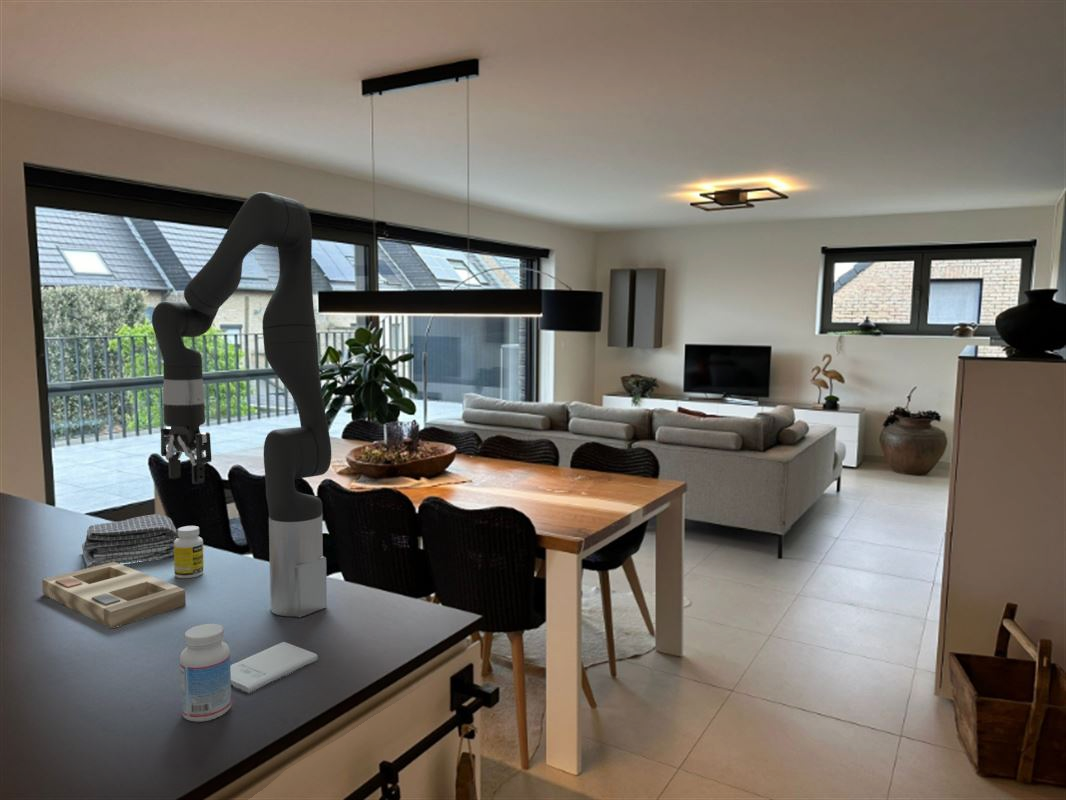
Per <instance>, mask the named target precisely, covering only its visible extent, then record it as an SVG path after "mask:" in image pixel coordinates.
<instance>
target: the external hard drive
mask: <svg viewBox="0 0 1066 800" xmlns="http://www.w3.org/2000/svg"><path fill="white" fill-rule="evenodd" d="M315 658H317V659H318V654H316V653H314V652H313V651H309V650H307V649H305V648H303V647H302V648H301V647H300V646H299V647H298V646H296V645H294V644H291V643H288V642H286V641H282V642H280V643H277V644H275V645H273V646H271V647H269V648H268V647H267V648H266V649H263V650H262V651H259V652H257V653H255V654H253V655H251V656H248V657H247V658H244V659H242V660H239V661H237V662H234V663H232V664H230V671H231V686H232V685H233V687H234V686H236V687H238V688H242V689H244V690H247V691H250V690H252V689H254V688H257V687H259V686H260V685H262V684H264V683H267V682H269V681H271V680H272V679H274V678H276V677H279V676H280V675H282V674H285V673H287V672H289V671H291V670H294V669H295V668H297V667H299V666H301V665H302V664H305V663H307V662H309V661H311V660H314V659H315Z"/></svg>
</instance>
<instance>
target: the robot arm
mask: <svg viewBox="0 0 1066 800" xmlns="http://www.w3.org/2000/svg"><path fill="white" fill-rule="evenodd" d="M312 234H313V231H312V222H311V215H310V213H309V210H308V209H307V207H306V205H305V204H304V203H303V202H301V201H298V200H296V199H294V198H292V197H291V198H290V197H286V196H283V195H279V194H275V193H270V192H266V191H258V192H256V193H253V194H252V195H250V196H249V197H248V198H247V199H246V200H245V201H244V203H243V204H242V206H241V207H240V209H239V210H238V212H237V213H236V215H235V217H234V219H233V220H232V222H231V224H230V225H229V227H228V229H227V230H226V232H225V234H224V236H223V237H222V239H221V241H220V242H219V244H218V246H217V248H216V249H215V251H214V253H213V254H212V256H211V257H210V258H209V260H208V261H207V262H206V263H205V264H204V266H203V267H201V269H200V270H199V271H198V272H197V273H196V274H195V276H194V277H193V278H191V280H190V281H189V282H188V284H187V285H185V287H184V290H183V297H184V299H185V301H177V300H175V301H173V300H164V301H161V302H159V303H157V305H155V307H154V308H153V312H152V315H151V324H152V329H153V331H154V335H155V338H156V341H157V344H158V348H159V351H160V354H161V357H162V361H163V363H162V366H163V369H162V370H163V387H162V403H163V404H162V406H163V411H162V412H163V424H164V426H166V427H161V428H160V456H162V457H165V459H166V461H167V463H168V478H169V479H172V480H173V479H179V478H181V476H182V471H181V470H182V467H181V456H182V454H183V453H184V454H185V456H186V457H187V458H188V459H189V461H190V464H191V483H192V484H194V485H198V484H199V485H200V484H203V483H205V479H206V478H205V465H206V464H207V463H211V462H212V447H211V445H212V443H211V434H210V432H208V431H207V432H206V431H205V432H201V431H200V426H201V425H204V424H206V423H205V422H206V412H205V411H206V410H205V408H206V406H205V404H206V403H205V387H204V381H203V379H204V378H203V377H204V376H203V357H202V354H201V352H200V351H198V350H196V349H191V348H189V347H186V345H185V343H184V341H183V338H196V337H197V338H198V337H200V336H203V335H205V333H207V332H208V331H209V330H210V329H211V327H212V325H213V322H214V321H215V318H216V317H217V314H218V311H219V308H220V307H221V306H223V305H224V304H225V302H227V301H228V300H229V298H230V297H231V296H233V294H234V293H235V291H237V289H238V287H239V285H240V283H241V281H242V272H243V263H244V259H245V258H246V257H247V255H248V254H250V253H251V251H253V250H254V249H255V248H257V247H258V246H259V245H263V246H268V247H271V248H277V252H278V259H279V260H278V261H279V262H278V263H279V264H278V266H279V267H278V268H279V276H278V281H277V283H276V286H275V289H274V290H273V292H272V295H271V297H270V299H269V300H268V303H267V305H266V308H265V311H264V313H263V316H262V325H261V326H262V336H263V337H262V339H263V346H264V347H263V348H264V349H263V350H264V355H265V358H266V360H267V362H268V364H269V366H270V367H271V369H272V371H273V372H274V373H275V375H276V376H277V377H278V379H279V380H280V382H282V384H283V385H284V387H286V389H287V391H288V392H289V393H290V396H291V398H293V401H294V404H295V405H296V409H297V413H298V416H299V421H300V422H299V423H300V426H298V427H285V428H279V429H278V428H277V429H273V430H270V431H269V432H268V433H267V435H266V437H265V439H264V443H263V467H264V478H265V479H264V481H265V497H266V502H267V507H268V508H267V509H268V536H269V537H268V539H269V541H268V543H269V547H268V548H269V549H268V550H269V589H270V590H269V592H270V611H271V613H272V614H275V615H277V616H281V617H282V616H283V617H296V618H302V616H303V617H305V616H307V615H310V614H312V613H316V612H318V611H321V610H324V609H325V608H327V606H328V605H327V604H328V603H327V602H328V601H327V600H328V599H327V591H328V590H327V557H326V556H324V555H323V554H324V553H323V552H324V551H323V549H324V548H323V547H324V546H323V537H324V536H323V501H322V500H321V498H319V497H318V496H315V495H312V494H307V493H303V492H299V491H298V490H297V489H296V485H295V484H296V483H295V480H298V479H306V478H313V477H319V476H322V475H324V474H326V473H327V472H328V470H329V469H330V467H331V461H332V443H331V437H330V431H329V427H328V426H329V424H328V421H327V420H328V419H327V415H326V414H327V413H326V409H325V403H324V397H323V391H322V383H321V373H320V364H319V363H320V362H319V348H318V335H317V334H318V333H317V325H316V324H317V323H316V317H315V307H314V295H313V294H314V293H313V278H312V277H313V275H312V255H313V254H312V253H313V252H312V251H313V250H312V248H313V247H312V245H313V244H312V243H313V237H312V236H313V235H312ZM204 452H205V455H204Z"/></svg>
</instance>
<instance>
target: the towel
mask: <svg viewBox="0 0 1066 800" xmlns="http://www.w3.org/2000/svg"><path fill="white" fill-rule="evenodd" d="M86 530H87V531H86V532H87V533H86V536H85V537H86V539H85V541H84V543H82V544H81V548H82V555H83V557H84V562H85V564H86V569H87V568H91V567H95V566H99V565H103V564H107V563H111V562H116V563H119V564H120V563H129V562H137V561H138V562H139V561H148V562H150V561H149V560H154V561H157V560H156V559H161V560H164V558H165V559H168V558H170V557H173V556H174V542H175V540H176V539H178V528H177V527H175V524H174V522H173V520H172V518H170V517H168V516H167V515H164V514H157V513H155V514H149V515H141V516H136V517H135V516H134V517H132V518H131V517H130V518H128V519H124V520H118V521H113V522H105V523H100V524H92V525H89V527H88V529H86Z"/></svg>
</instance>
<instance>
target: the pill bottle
mask: <svg viewBox="0 0 1066 800" xmlns="http://www.w3.org/2000/svg"><path fill="white" fill-rule="evenodd" d="M224 637H225V634H224V627H223V625H220V624H217V623H205V624H199V625H196V626H193V627H190V628H188V630H186V631H185V633H184V644H185V646H186V647H185V648H184V649H183V650H182V651H181V653H180V656H179V668H180V669H179V675H180V696H181V697H180V698H181V700H180V702H181V714H182V716H183V718H184V719H185V720H188V721H191V722H196V723H198V722H208V721H212V719H213V720H215V719H217V717H218V718H219V717H221V716H222V715H225V714H226V713H227V712H228V711H229V710H230V708H231V707H232V703H233V701H232V685H231V671H230V665H231V650H230V646H229V644H227V643H226V642H225V641H224Z"/></svg>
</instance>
